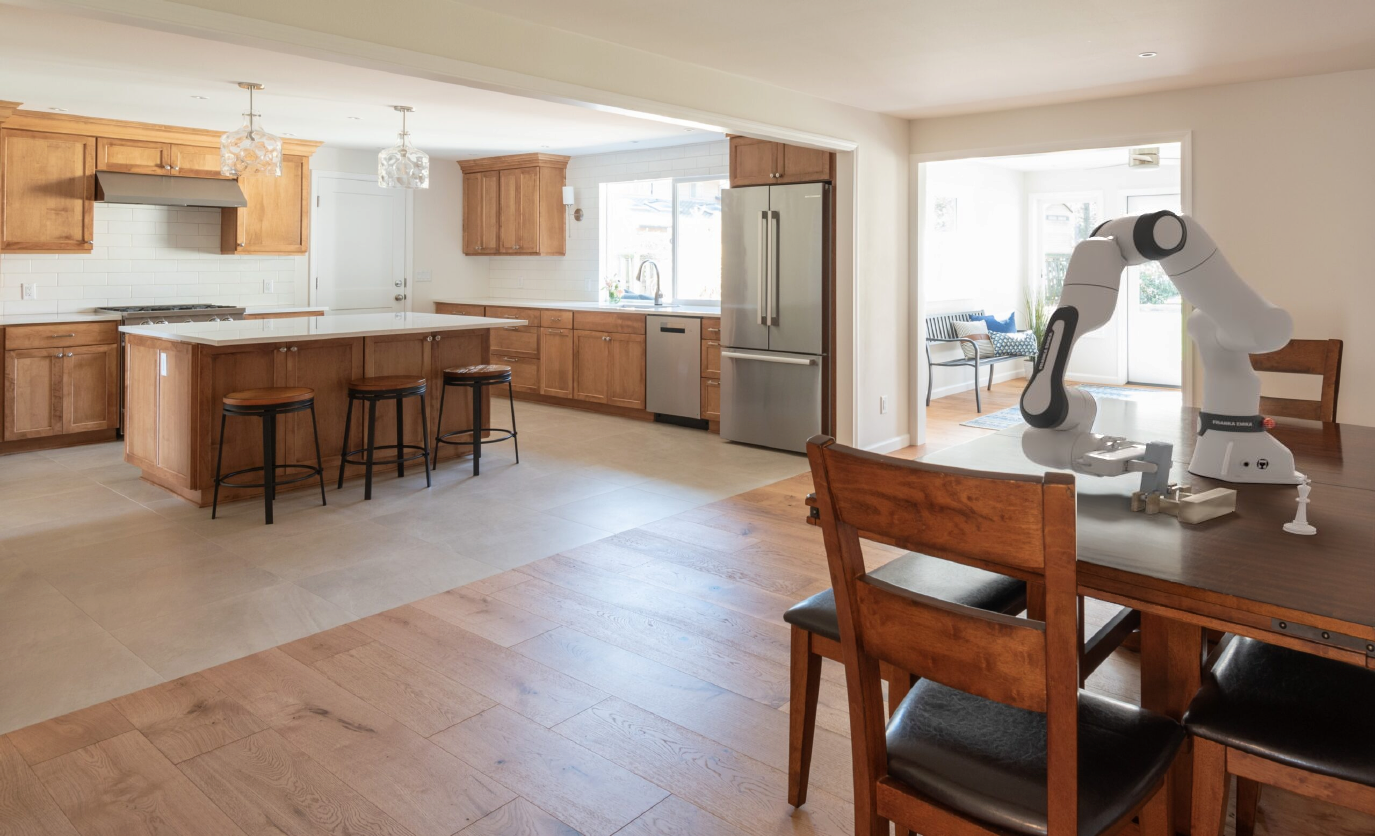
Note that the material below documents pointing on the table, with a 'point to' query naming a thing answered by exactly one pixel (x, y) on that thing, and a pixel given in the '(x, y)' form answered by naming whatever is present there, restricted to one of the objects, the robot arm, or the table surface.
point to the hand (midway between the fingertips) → (1163, 466)
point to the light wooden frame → (1188, 503)
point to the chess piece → (1301, 512)
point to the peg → (1162, 457)
